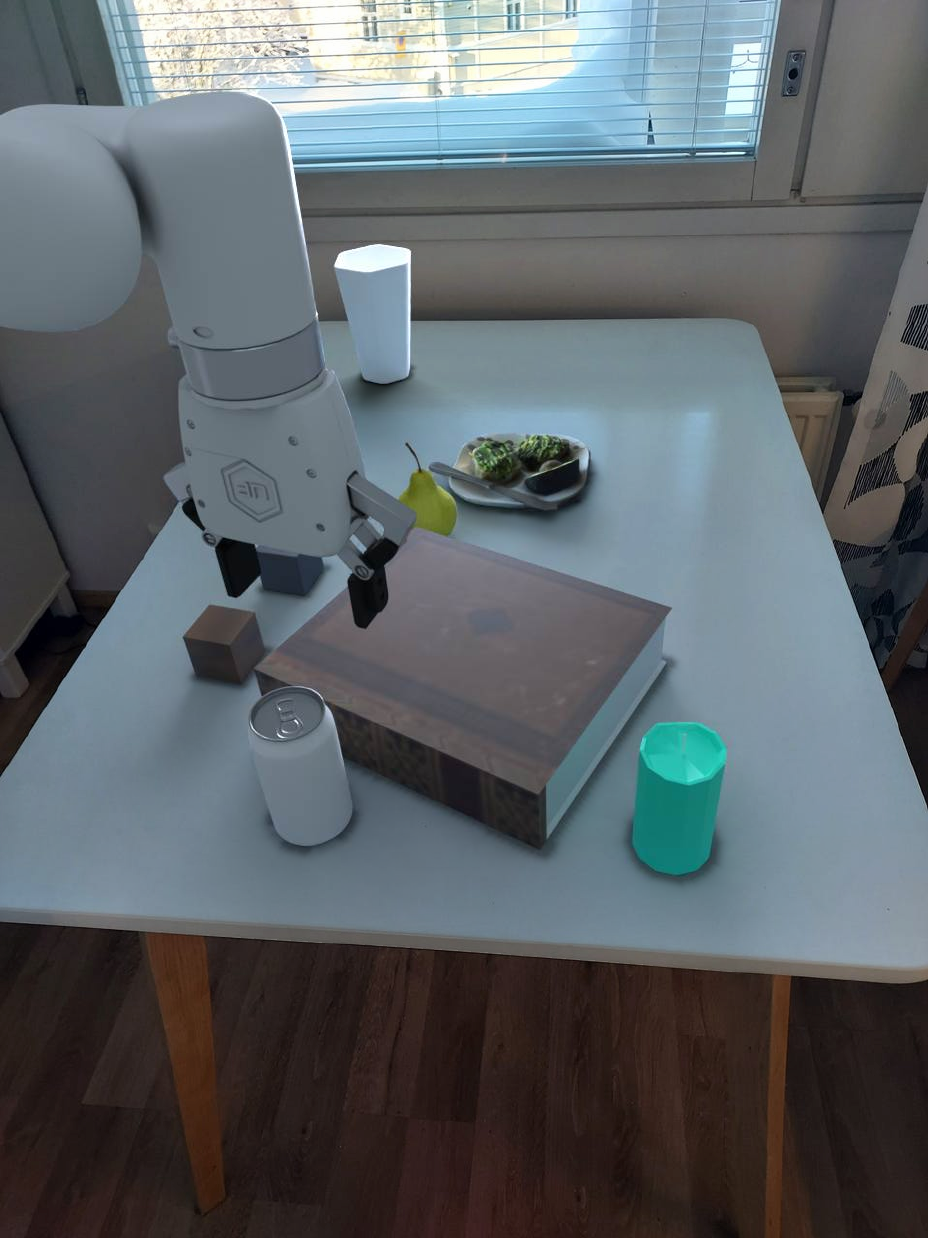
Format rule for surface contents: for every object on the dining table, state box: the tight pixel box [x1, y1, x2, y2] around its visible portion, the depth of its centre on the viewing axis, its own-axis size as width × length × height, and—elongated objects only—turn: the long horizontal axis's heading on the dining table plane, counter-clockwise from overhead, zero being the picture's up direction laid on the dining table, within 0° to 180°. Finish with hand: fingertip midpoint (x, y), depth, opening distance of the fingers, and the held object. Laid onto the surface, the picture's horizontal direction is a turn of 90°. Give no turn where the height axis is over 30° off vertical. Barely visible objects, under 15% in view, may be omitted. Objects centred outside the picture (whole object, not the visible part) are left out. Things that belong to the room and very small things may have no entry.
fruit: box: [397, 441, 458, 537], centre depth 101 cm, size 7×7×12 cm
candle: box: [631, 721, 728, 876], centre depth 67 cm, size 6×6×12 cm
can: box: [247, 686, 353, 847], centre depth 72 cm, size 6×6×12 cm
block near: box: [182, 603, 266, 685], centre depth 89 cm, size 5×5×5 cm
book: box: [253, 527, 673, 850], centre depth 83 cm, size 24×28×6 cm
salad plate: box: [427, 432, 592, 512], centre depth 112 cm, size 19×18×5 cm
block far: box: [256, 545, 325, 596], centre depth 99 cm, size 5×5×5 cm
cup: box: [333, 244, 412, 385], centre depth 134 cm, size 11×10×17 cm
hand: (306, 600), depth 61 cm, fingers open, 9 cm apart
